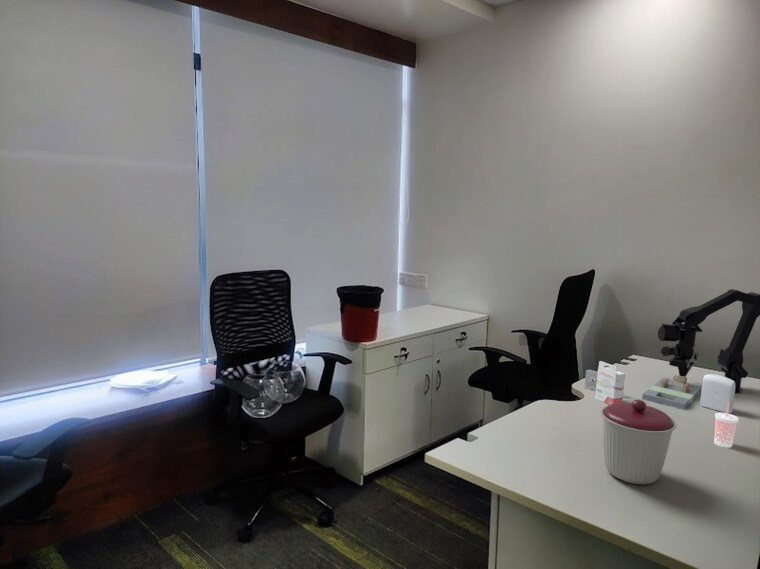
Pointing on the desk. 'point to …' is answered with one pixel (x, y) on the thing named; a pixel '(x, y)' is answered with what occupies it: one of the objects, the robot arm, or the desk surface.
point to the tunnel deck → (672, 393)
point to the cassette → (591, 380)
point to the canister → (635, 441)
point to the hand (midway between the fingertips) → (681, 379)
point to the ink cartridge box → (609, 384)
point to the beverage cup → (725, 428)
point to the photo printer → (717, 393)
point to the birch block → (679, 380)
